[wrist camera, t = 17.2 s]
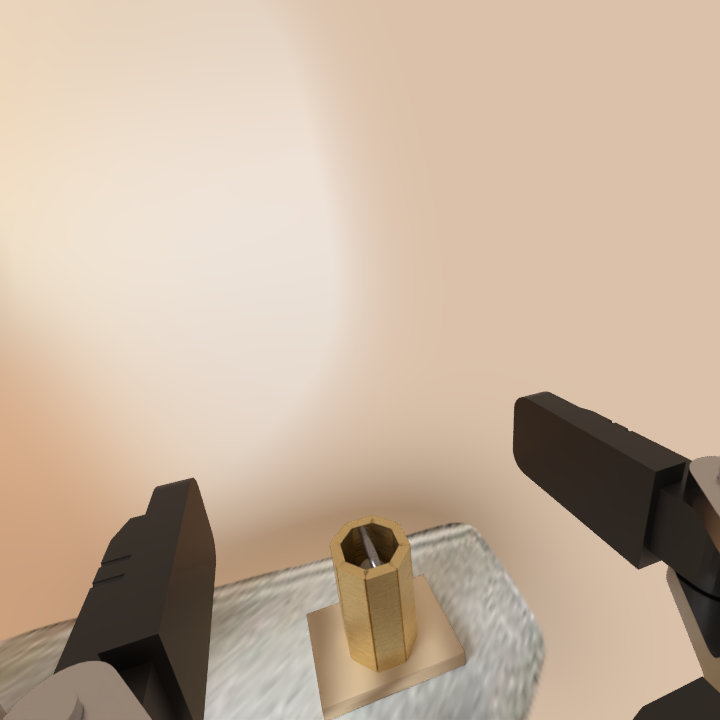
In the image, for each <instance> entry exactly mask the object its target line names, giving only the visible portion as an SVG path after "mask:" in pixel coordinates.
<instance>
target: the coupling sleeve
mask: <svg viewBox="0 0 720 720" xmlns="http://www.w3.org/2000/svg"><path fill="white" fill-rule="evenodd" d="M330 549H331V555H332V561H333V567H334V573H335V579H336V584H337V590H338V596H339V602H340V608H341V614H342V619H343V625H344V631H345V635H346V640H347V644H348V648H349V652H350V656H351V658H352V660H354V661H355V662H357V663H359V664H361V665H363V666H365V667H367V668H369V669H370V670H372V671H374V672H376V673H377V671H378V672H379V673H380V672H383V671H386V670H388V669H391V668H393V667H396V666H399V665H401V664H404V663H406V661H407V660H408V658H409V655H410V653H411V650H412V648H413V645H414V643H415V641H416V638H417V622H416V610H415V598H414V586H413V573H412V561H411V549H410V543H409V541H408V539H407V537H406V535H405V534H404V532H403V530H402V528H401V526H400V524H398V523H396V522H393V521H390V520H387V519H384V518H381V517H377V516H373V517H372V516H368V517H365V518H361V519H358V520H355V521H351V522H348V523H347V524H344V526H343V527H342V528H341V530H340V531H339V532H338V534H337V535H336V536H335V538H334V539H333V540H332V542H331V543H330ZM366 559H369V562H370V565H371V567H372V568H371V569H368V570H365V569H362V568H360V565H361V564H362V562H363V561H364V560H366ZM380 560H381V561H382V562H383V563H384V564H383V565H382V563H381V561H380ZM405 660H406V661H405Z"/></svg>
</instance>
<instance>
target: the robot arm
mask: <svg viewBox="0 0 720 720" xmlns="http://www.w3.org/2000/svg"><path fill="white" fill-rule="evenodd" d="M513 453H514V457H515V461H516V463H517V465H518V467H519V468H520V469H521V470H522V472H523V473H524V474H525V475H526V476H528V477H529V478H530V479H531V480H532V481H534V482H535V483H536V484H537V485H538V486H540V487H541V488H542V489H543V490H544V491H546V492H547V493H548V494H549V495H550V496H551V497H553V498H554V499H555V500H556V501H557V502H559V503H560V504H561V505H562V506H563V507H565V508H566V509H567V510H568V511H569V512H571V513H572V514H573V515H574V516H575V517H576V518H578V519H579V520H580V521H581V522H582V523H583V524H585V525H586V526H587V527H588V528H590V529H591V530H592V531H593V532H594V533H595V534H597V535H598V536H599V537H600V538H601V539H602V540H604V541H605V542H606V543H607V544H608V545H610V546H611V547H612V548H613V549H614V550H616V551H617V552H618V553H619V554H620V555H621V556H623V557H624V558H625V559H626V560H627V561H629V562H630V563H631V564H632V565H633V566H635V567H636V568H637V569H641V568H643V567H646V566H648V565H651V564H654V563H656V562H659V561H661V560H662V561H663V562H665V563H666V564H667V565H668V569H667V574H666V576H667V582H668V585H669V587H670V590H671V592H672V595H673V597H674V600H675V603H676V605H677V608H678V610H679V613H680V615H681V618H682V620H683V623H684V625H685V628H686V630H687V633H688V635H689V638H690V640H691V643H692V645H693V648H694V650H695V653H696V656H697V658H698V661H699V663H700V666H701V668H702V671H703V674H704V677H701V678H699V679H696V680H695V681H693V682H691V683H689V684H687V685H685V686H683V687H681V688H679V689H677V690H675V691H673V692H671V693H669V694H667V695H665V696H663V697H661V698H659V699H657V700H655V701H653V702H651V703H649V704H647V705H645V706H643V707H642V708H641V709H640V711H639V712H638V713H637V715H636V716H635V717H634V719H633V720H720V457H716V456H709V457H701V458H698V459H695V460H693V461H691V460H689V459H687V458H685V457H683V456H681V455H679V454H677V453H675V452H673V451H671V450H669V449H667V448H665V447H663V446H661V445H659V444H657V443H655V442H653V441H651V440H649V439H647V438H645V437H643V436H641V435H639V434H637V433H635V432H633V431H630V432H629V431H628V429H627V428H625V427H623V426H621V425H619V424H617V423H612V421H611V420H609V419H607V418H605V417H603V416H601V415H599V414H597V413H595V412H593V411H590V410H587V409H583V408H580V407H578V406H576V405H574V404H572V403H570V402H568V401H566V400H564V399H562V398H560V397H558V396H556V395H554V394H552V393H550V392H541V393H537V394H533V395H529V396H525V397H521V398H519V399H518V400H517V401H516V403H515V406H514V431H513ZM215 568H216V554H215V544H214V539H213V534H212V531H211V527H210V524H209V520H208V517H207V514H206V510H205V507H204V504H203V500H202V497H201V494H200V490H199V487H198V484H197V482H196V480H195V479H194V478H190V479H186V480H182V481H178V482H174V483H170V484H166V485H162V486H157V487H156V488H155V489H154V491H153V494H152V497H151V500H150V503H149V505H148V508H147V511H146V514H145V515H142V516H139V517H134V518H130V520H129V521H128V522H127V523H126V524H125V525H124V526H123V527H122V528H121V530H120V531H119V532H118V533H117V534H116V535H115V536H114V537H113V538H112V540H111V541H110V543H109V546H108V548H107V550H106V553H105V555H104V557H103V560H102V562H101V567H100V568H99V569H98V572H97V574H96V576H95V578H94V581H93V588H91V589H90V590H89V592H88V595H87V597H86V599H85V602H84V604H83V606H82V609H81V611H80V613H79V616H78V618H77V620H76V623H75V625H74V627H73V630H72V632H71V634H70V637H69V639H68V641H67V644H66V646H65V648H64V651H63V653H62V655H61V658H60V660H59V662H58V665H57V667H56V669H55V672H54V674H53V676H51V677H49V678H48V679H46V680H45V681H43V682H42V683H40V684H39V685H38V686H36V687H35V688H34V689H32V690H31V691H30V692H29V693H28V694H27V695H25V696H24V697H23V698H22V699H21V700H20V701H19V702H18V703H17V704H16V705H15V706H14V707H13V708H12V709H11V710H10V711H9V712H8V714H6V712H5V711H4V709H3V708H2V706H1V705H0V720H204V708H205V695H206V683H207V670H208V657H209V644H210V632H211V619H212V606H213V593H214V581H215Z"/></svg>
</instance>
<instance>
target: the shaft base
mask: <svg viewBox="0 0 720 720" xmlns="http://www.w3.org/2000/svg"><path fill="white" fill-rule="evenodd" d="M380 561H381V560H380ZM381 563H382V565H383V564H384V563H383V562H382V561H381ZM360 568H362V569H365V570H368V569H371V568H372V567H371V565H370V562H369V559H366V560H364V561H363V562H362V564H361V565H360ZM413 586H414V598H415V610H416V622H417V638H416V641H415V643H414V645H413V648H412V650H411V653H410V655H409V658H408V660H407V661H406V660H405V661H406V663H404V664H401V665H399V666H396V667H393V668H391V669H388V670H386V671H383V672H380V673H379V672H378V671H377V673H376V672H374V671H372V670H370V669H369V668H367V667H365V666H363V665H361V664H359V663H357V662H355V661H354V660H352V658H351V656H350V652H349V648H348V644H347V640H346V635H345V631H344V625H343V619H342V614H341V608H340V603H338V604H335V605H332V606H329V607H326V608H323V609H320V610H317V611H314V612H311V613H308V614H307V620H308V626H309V632H310V638H311V644H312V651H313V657H314V663H315V669H316V675H317V681H318V687H319V693H320V699H321V706H322V711H323V716H324V720H331V719H333V718H336V717H338V716H340V715H343V714H345V713H348V712H350V711H353V710H355V709H358V708H360V707H362V706H365V705H367V704H370V703H372V702H375V701H377V700H380V699H382V698H384V697H387V696H389V695H392V694H394V693H397V692H399V691H401V690H404V689H406V688H409V687H411V686H414V685H416V684H419V683H421V682H423V681H426V680H428V679H431V678H433V677H436V676H438V675H441V674H443V673H445V672H448V671H450V670H453V669H455V668H458V667H460V666H462V665H465V652H464V650H463V648H462V646H461V644H460V642H459V640H458V638H457V636H456V635H455V633H454V631H453V629H452V627H451V625H450V623H449V621H448V619H447V618H446V616H445V614H444V612H443V610H442V608H441V606H440V604H439V602H438V601H437V599H436V597H435V595H434V593H433V591H432V589H431V587H430V585H429V584H428V582H427V580H426V578H425V576H424V574H423V575H420V576H417V577H414V578H413Z"/></svg>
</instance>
